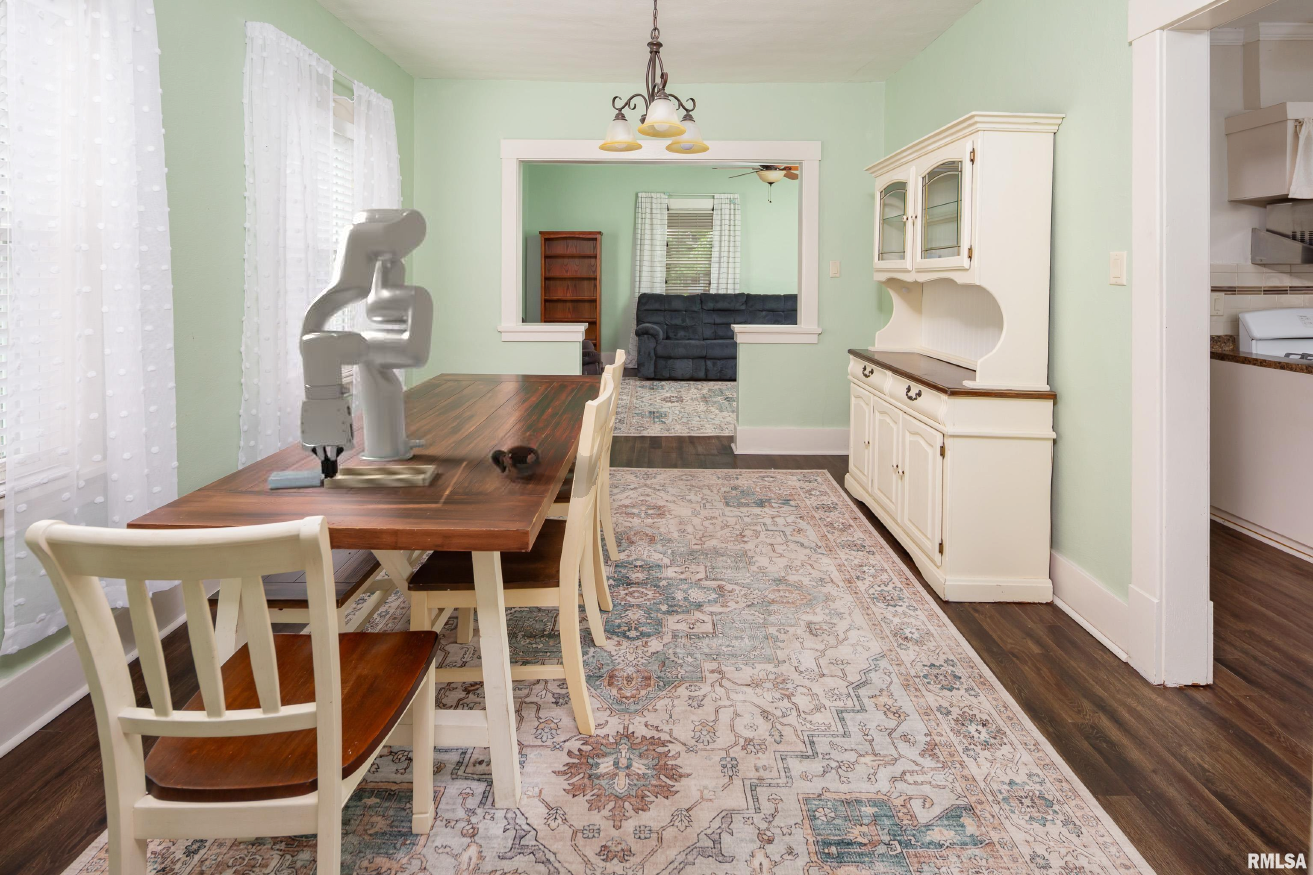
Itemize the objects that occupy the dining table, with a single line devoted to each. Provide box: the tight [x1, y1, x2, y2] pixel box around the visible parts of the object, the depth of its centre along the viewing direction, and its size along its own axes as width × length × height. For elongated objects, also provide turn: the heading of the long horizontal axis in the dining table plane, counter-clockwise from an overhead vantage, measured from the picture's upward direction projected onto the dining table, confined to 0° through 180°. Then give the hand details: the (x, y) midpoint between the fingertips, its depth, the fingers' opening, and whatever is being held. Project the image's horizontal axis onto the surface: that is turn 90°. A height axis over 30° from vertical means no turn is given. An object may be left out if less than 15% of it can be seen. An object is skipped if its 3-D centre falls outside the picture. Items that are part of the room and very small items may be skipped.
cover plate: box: [267, 468, 325, 490], centre depth 173 cm, size 10×7×3 cm
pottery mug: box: [490, 444, 543, 483], centre depth 181 cm, size 12×10×8 cm
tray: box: [323, 465, 438, 489], centre depth 176 cm, size 21×12×2 cm, turn 96°
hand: (330, 477), depth 175 cm, fingers closed
